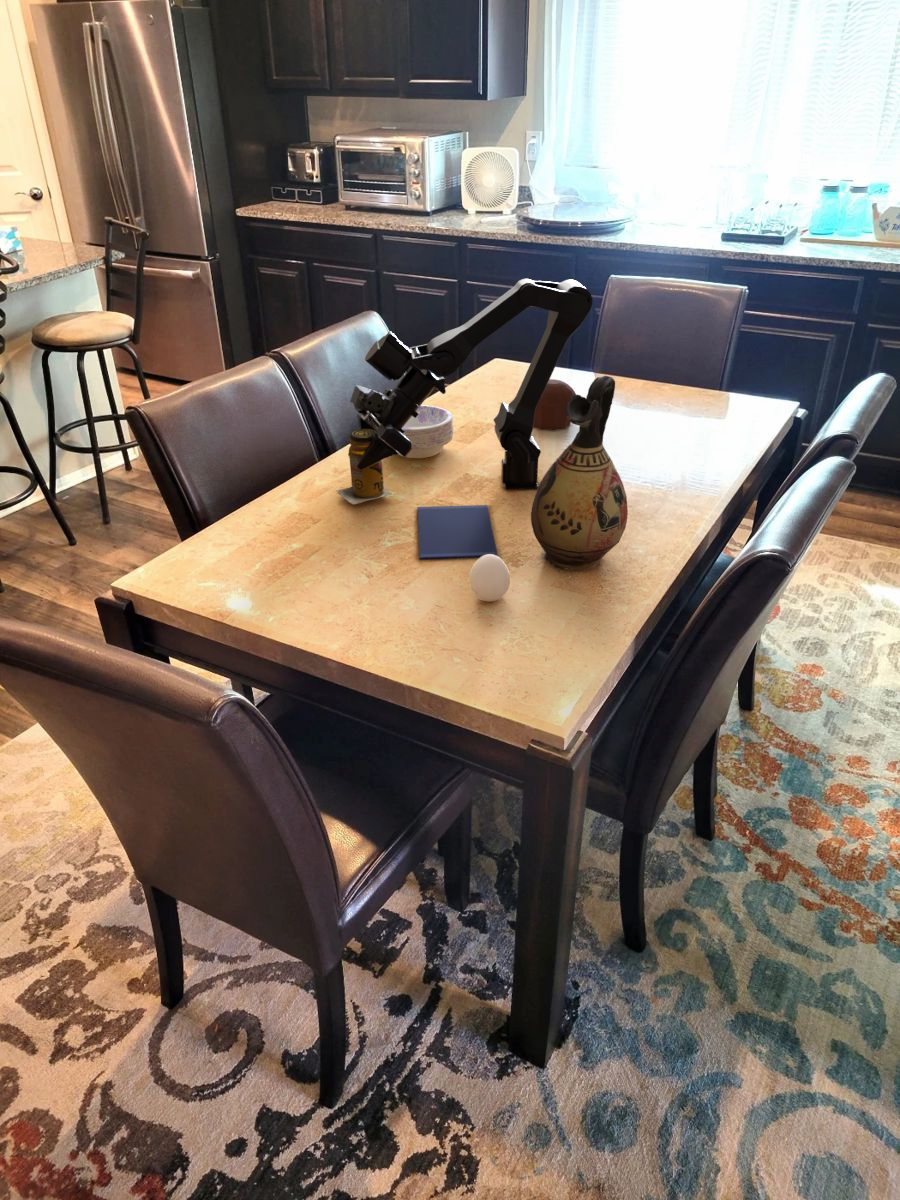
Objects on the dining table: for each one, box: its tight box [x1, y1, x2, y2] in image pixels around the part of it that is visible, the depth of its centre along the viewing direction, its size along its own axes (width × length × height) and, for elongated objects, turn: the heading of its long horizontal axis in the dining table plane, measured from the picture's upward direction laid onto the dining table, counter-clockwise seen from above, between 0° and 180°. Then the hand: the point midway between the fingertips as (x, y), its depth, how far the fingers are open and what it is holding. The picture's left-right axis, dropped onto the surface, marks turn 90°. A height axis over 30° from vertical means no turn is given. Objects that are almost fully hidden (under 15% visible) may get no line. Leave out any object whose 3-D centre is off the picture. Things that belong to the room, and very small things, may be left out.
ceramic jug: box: [530, 374, 629, 572], centre depth 135 cm, size 17×15×30 cm
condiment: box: [335, 429, 393, 505], centre depth 160 cm, size 7×8×12 cm
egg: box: [469, 554, 511, 603], centre depth 129 cm, size 6×6×8 cm
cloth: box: [417, 504, 498, 561], centre depth 151 cm, size 13×20×1 cm, turn 3°
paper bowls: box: [396, 404, 454, 459], centre depth 182 cm, size 15×15×8 cm
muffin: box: [533, 378, 577, 432], centre depth 196 cm, size 12×11×10 cm
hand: (354, 462), depth 159 cm, fingers closed on condiment, 6 cm apart
